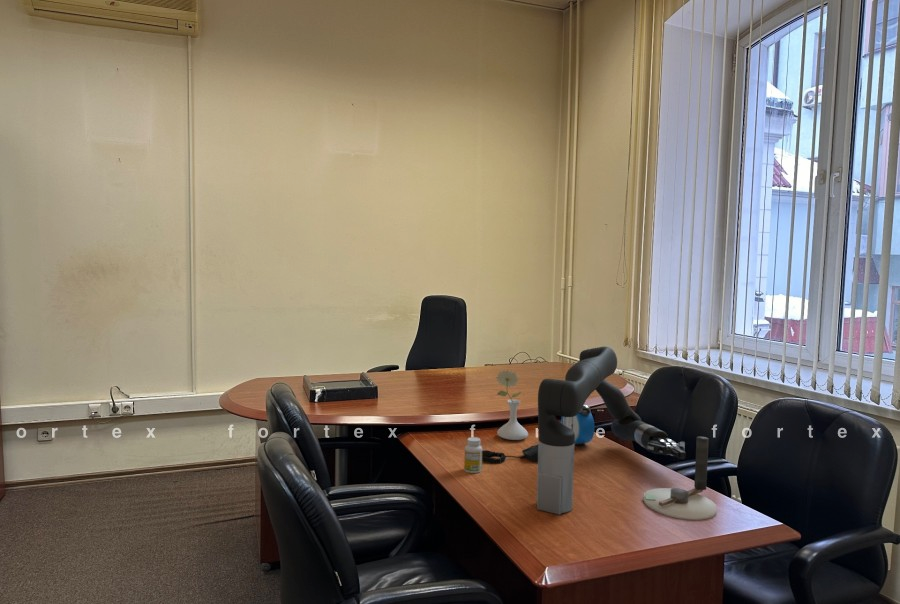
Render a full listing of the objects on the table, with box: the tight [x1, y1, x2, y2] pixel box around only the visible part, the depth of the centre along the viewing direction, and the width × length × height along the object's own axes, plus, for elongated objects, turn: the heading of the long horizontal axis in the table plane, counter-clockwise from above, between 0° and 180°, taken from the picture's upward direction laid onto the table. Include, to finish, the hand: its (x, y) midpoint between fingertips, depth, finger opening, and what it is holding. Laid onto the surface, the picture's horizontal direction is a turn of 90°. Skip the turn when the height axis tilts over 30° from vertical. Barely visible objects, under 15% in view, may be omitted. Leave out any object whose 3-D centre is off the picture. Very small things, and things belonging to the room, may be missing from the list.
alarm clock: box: [560, 403, 595, 447], centre depth 200 cm, size 13×6×15 cm, turn 20°
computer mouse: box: [482, 443, 539, 465], centre depth 183 cm, size 10×32×6 cm, turn 100°
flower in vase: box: [496, 369, 529, 441], centre depth 205 cm, size 13×11×25 cm
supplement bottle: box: [463, 436, 483, 474], centre depth 171 cm, size 5×5×10 cm
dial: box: [659, 436, 710, 506], centre depth 149 cm, size 20×4×15 cm, turn 125°
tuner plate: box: [642, 487, 718, 521], centre depth 148 cm, size 18×18×1 cm
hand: (683, 455), depth 163 cm, fingers closed
